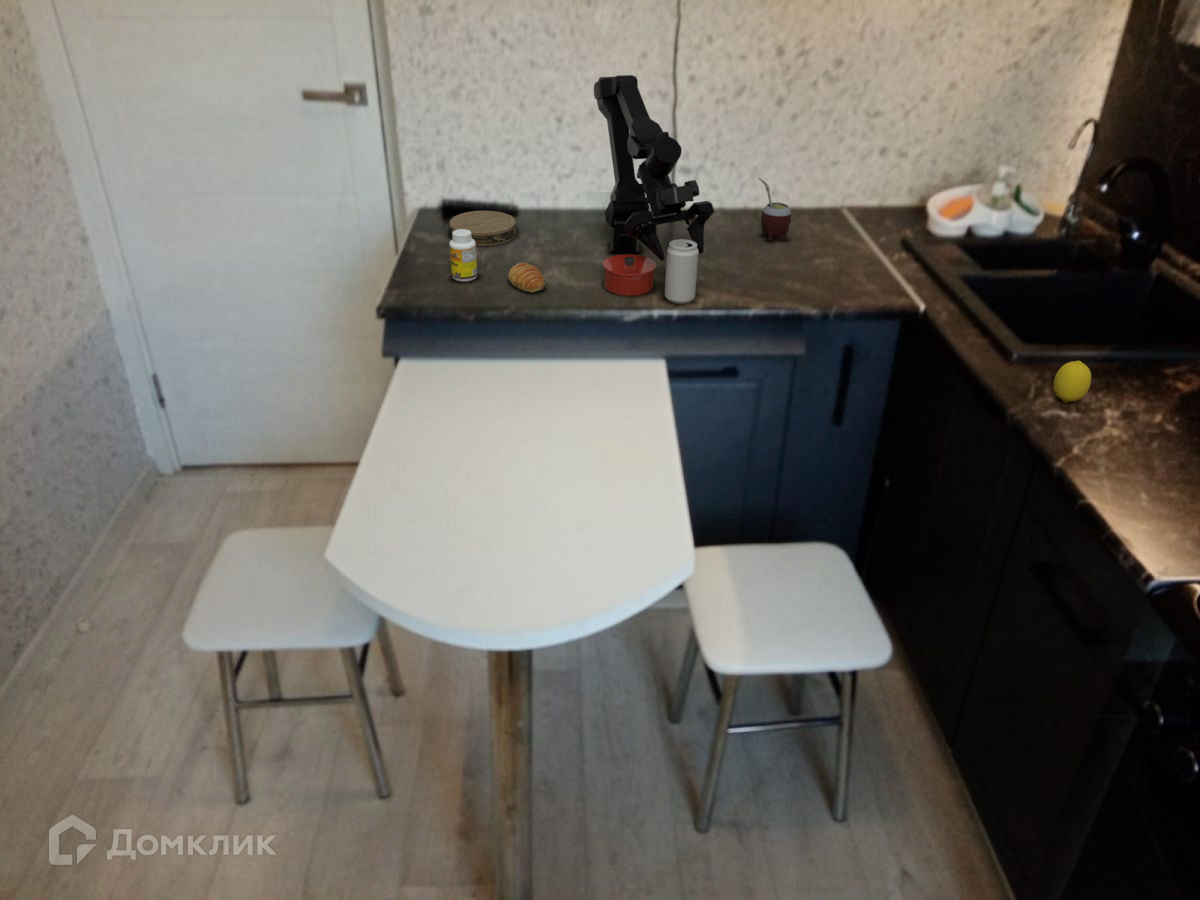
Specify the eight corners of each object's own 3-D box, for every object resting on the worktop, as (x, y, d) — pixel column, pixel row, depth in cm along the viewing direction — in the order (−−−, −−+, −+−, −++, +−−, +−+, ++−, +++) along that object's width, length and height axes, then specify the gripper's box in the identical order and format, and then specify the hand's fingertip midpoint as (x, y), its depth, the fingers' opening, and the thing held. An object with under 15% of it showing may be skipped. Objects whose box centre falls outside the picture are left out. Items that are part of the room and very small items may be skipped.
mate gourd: (792, 236, 223) (801, 175, 214) (779, 246, 217) (788, 183, 209) (764, 230, 226) (771, 169, 218) (750, 239, 220) (758, 177, 212)
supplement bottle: (448, 274, 199) (445, 229, 193) (473, 271, 201) (470, 226, 195) (456, 284, 194) (452, 238, 189) (481, 280, 196) (478, 234, 191)
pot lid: (597, 260, 197) (597, 251, 196) (646, 256, 199) (647, 247, 198) (610, 280, 188) (611, 270, 187) (662, 276, 190) (663, 266, 189)
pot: (599, 278, 199) (599, 258, 196) (644, 274, 201) (645, 255, 199) (611, 297, 190) (612, 277, 188) (659, 293, 193) (660, 273, 190)
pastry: (553, 290, 193) (553, 273, 191) (524, 297, 190) (524, 280, 188) (532, 275, 199) (532, 258, 197) (504, 281, 196) (504, 264, 194)
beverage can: (692, 306, 187) (697, 250, 181) (662, 303, 188) (665, 247, 182) (696, 294, 193) (701, 239, 186) (666, 291, 194) (669, 236, 187)
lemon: (1041, 394, 160) (1055, 353, 155) (1072, 393, 160) (1086, 353, 156) (1057, 410, 155) (1072, 369, 150) (1088, 410, 155) (1104, 368, 151)
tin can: (480, 217, 229) (480, 206, 228) (529, 232, 222) (529, 220, 220) (436, 235, 218) (435, 223, 217) (485, 250, 211) (485, 238, 209)
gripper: (633, 172, 176) (659, 246, 174) (713, 161, 183) (739, 231, 182) (612, 200, 186) (637, 270, 184) (689, 188, 194) (714, 255, 192)
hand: (682, 256), depth 185 cm, fingers open, 9 cm apart
